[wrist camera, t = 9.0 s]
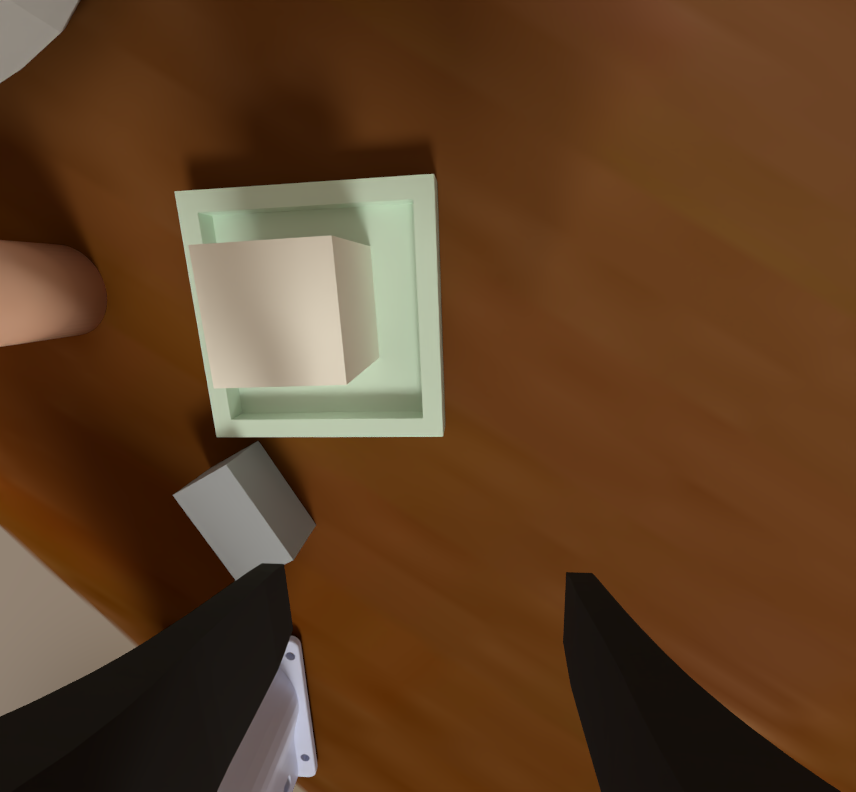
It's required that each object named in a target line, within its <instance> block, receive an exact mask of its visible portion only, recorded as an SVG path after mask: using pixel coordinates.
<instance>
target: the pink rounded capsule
mask: <svg viewBox="0 0 856 792" xmlns="http://www.w3.org/2000/svg"><path fill="white" fill-rule="evenodd" d="M106 307H107V293H106V288H105V284H104V281H103V279H102V277H101V275H100V273H99V271H98V270H97V268H96V267H95V265H94V264H93V263H92V262H91V261H90V260H89V259H88V258H87V257H86V256H85V255H84V254H82V253H81V252H79V251H78V250H76V249H74V248H72V247H69V246H65V245H59V244H46V243H33V242H19V241H6V240H0V347H2V346H9V345H16V344H22V343H29V342H36V341H43V340H49V339H56V338H63V337H69V336H76V335H82V334H86V333H88V332H90V331H92V330H93V329H95V328H96V327H97V326H98V325H99V324H100V322H101V321H102V319H103V317H104V315H105V312H106Z"/></svg>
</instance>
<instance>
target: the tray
mask: <svg viewBox="0 0 856 792" xmlns="http://www.w3.org/2000/svg"><path fill="white" fill-rule="evenodd" d="M174 192H175V197H176V203H177V209H178V215H179V221H180V227H181V233H182V238H183V244H184V250H185V256H186V262H187V268H188V273H189V279H190V285H191V291H192V297H193V303H194V309H195V314H196V320H197V326H198V332H199V338H200V344H201V350H202V355H203V361H204V367H205V373H206V379H207V385H208V390H209V396H210V402H211V408H212V414H213V420H214V426H215V431H216V437H443V434H444V429H445V403H444V372H443V342H442V311H441V281H440V250H439V219H438V189H437V180H436V177H435V175H434V174H423V175H408V176H393V177H379V178H364V179H349V180H335V181H320V182H306V183H291V184H276V185H262V186H247V187H232V188H218V189H203V190H188V191H174ZM330 235H332V236H336V237H339V238H343V239H346V240H350V241H353V242H357V243H360V244H364V245H367V246H371V259H372V271H373V284H374V296H375V309H376V321H377V334H378V346H379V358H378V359H377V360H376V361H375V362H373V363H372V364H371V365H370V366H369V367H367V368H366V369H365V370H364V371H363V372H361V373H360V374H359V375H358V376H357V377H356V378H354V379H353V380H352V381H351V382H350V383H348V384H347V385H327V386H289V387H252V388H215V389H214V387H213V381H212V376H211V370H210V365H209V359H208V353H207V348H206V342H205V336H204V331H203V325H202V320H201V314H200V308H199V303H198V297H197V292H196V286H195V280H194V275H193V269H192V264H191V258H190V252H189V247H188V245H194V244H209V243H224V242H239V241H254V240H270V239H285V238H300V237H315V236H330Z"/></svg>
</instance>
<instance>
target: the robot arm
mask: <svg viewBox="0 0 856 792" xmlns="http://www.w3.org/2000/svg"><path fill="white" fill-rule="evenodd" d="M292 631H293V625H292V618H291V611H290V604H289V597H288V590H287V583H286V576H285V569H284V564H271V563H261V564H260V565H258V566H256V567H255V568H253V569H252V570H250V571H249V572H247V573H246V574H244V575H243V576H242V577H240V578H239V579H237V580H236V581H234V582H233V583H232V584H230V585H229V586H227V587H226V588H225V589H223V590H222V591H220V592H219V593H218V594H216V595H215V596H213V597H212V598H210V599H209V600H208V601H206V602H205V603H203V604H202V605H200V606H199V607H198V608H196V609H195V610H193V611H192V612H190V613H189V614H187V615H186V616H184V617H183V618H181V619H180V620H178V621H177V622H175V623H174V624H172V625H171V626H169V627H168V628H166V629H165V630H163V631H161V632H160V633H158V634H157V635H155V636H154V637H152V638H151V639H149V640H148V641H146V642H144V643H143V644H141V645H139V646H138V647H136V648H135V649H133V650H131V651H129V652H128V653H126V654H124V655H123V656H121V657H119V658H118V659H116V660H114V661H112V662H110V663H108V664H107V665H105V666H103V667H101V668H99V669H98V670H96V671H94V672H92V673H90V674H88V675H86V676H84V677H82V678H80V679H79V680H76V681H74V682H72V683H70V684H68V685H67V686H64V687H62V688H60V689H58V690H56V691H54V692H52V693H50V694H48V695H46V696H44V697H42V698H40V699H38V700H36V701H34V702H32V703H30V704H27V705H26V706H23V707H21V708H19V709H16V710H14V711H12V712H10V713H7V714H5V715H3V716H1V717H0V792H293V789H294V786H295V783H296V781H297V778H298V776H302V777H311V776H314V775H315V773H316V770H317V766H318V765H317V758H316V750H315V743H314V736H313V728H312V721H311V714H310V706H309V699H308V692H307V685H306V677H305V670H304V663H303V655H302V648H301V643H300V640H299V639H298V638H297V637H295V636H291V634H292ZM563 644H564V649H565V655H566V661H567V667H568V673H569V678H570V684H571V688H572V692H573V695H574V699H575V702H576V706H577V710H578V713H579V717H580V720H581V724H582V727H583V731H584V734H585V738H586V741H587V744H588V748H589V751H590V755H591V758H592V762H593V765H594V769H595V772H596V776H597V779H598V783H599V786H600V790H601V792H841V791H839V790H838V789H836V788H835V787H833V786H831V785H830V784H828V783H827V782H825V781H824V780H822V779H821V778H819V777H818V776H817V775H815V774H814V773H812V772H811V771H809V770H808V769H807V768H805V767H804V766H802V765H801V764H799V763H798V762H796V761H795V760H794V759H792V758H791V757H789V756H788V755H787V754H785V753H784V752H783V751H781V750H780V749H779V748H777V747H776V746H775V745H773V744H772V743H771V742H769V741H768V740H767V739H765V738H764V737H763V736H761V735H760V734H758V733H757V732H756V731H754V730H753V729H752V728H751V727H749V726H748V725H747V724H745V723H744V722H743V721H742V720H740V719H739V718H738V717H737V716H735V715H734V714H733V713H732V712H730V711H729V710H728V709H727V708H726V707H724V706H723V705H722V704H721V703H720V702H718V701H717V700H716V699H715V698H714V697H713V696H711V695H710V694H709V693H708V692H707V691H705V690H704V689H703V688H702V687H701V686H700V685H698V684H697V683H696V682H695V681H694V680H693V679H692V678H691V677H689V676H688V675H687V674H686V673H685V672H684V671H683V670H682V669H681V668H680V667H679V666H678V665H677V664H676V663H675V662H674V661H673V660H672V659H671V658H670V657H668V656H667V655H666V654H665V653H664V652H663V651H662V649H661V648H660V647H659V646H658V645H657V644H656V643H655V642H654V641H653V640H652V639H651V638H650V637H649V636H648V635H647V634H646V633H645V632H644V631H643V630H642V629H641V628H640V627H639V625H638V624H637V623H636V622H635V621H634V620H633V619H632V618H631V617H630V616H629V615H628V613H627V612H626V611H625V610H624V609H623V608H622V607H621V606H620V604H619V603H618V602H617V601H616V600H615V599H614V598H613V596H612V595H611V594H610V593H609V592H608V591H607V589H606V588H605V587H604V586H603V585H602V583H601V582H600V581H599V580H598V579H597V578H596V577H595V576H594V575H593V574H592V573H569V572H566V590H565V613H564V636H563ZM290 652H291V653H293V654H291V653H290Z"/></svg>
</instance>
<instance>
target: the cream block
mask: <svg viewBox="0 0 856 792" xmlns="http://www.w3.org/2000/svg"><path fill="white" fill-rule="evenodd" d="M188 247H189V252H190V258H191V264H192V269H193V275H194V280H195V286H196V292H197V297H198V303H199V308H200V314H201V320H202V325H203V331H204V336H205V342H206V348H207V353H208V359H209V365H210V370H211V376H212V381H213V387H214V389H215V388H252V387H289V386H327V385H347V384H348V383H350V382H351V381H352V380H353V379H354V378H356V377H357V376H358V375H359V374H360V373H361V372H363V371H364V370H365V369H366V368H367V367H369V366H370V365H371V364H372V363H373V362H375V361H376V360H377V359H378V358H379V346H378V334H377V321H376V309H375V296H374V284H373V271H372V259H371V246H367V245H364V244H360V243H357V242H353V241H350V240H346V239H343V238H339V237H336V236H332V235H330V236H315V237H300V238H285V239H270V240H254V241H239V242H224V243H209V244H194V245H188Z"/></svg>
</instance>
